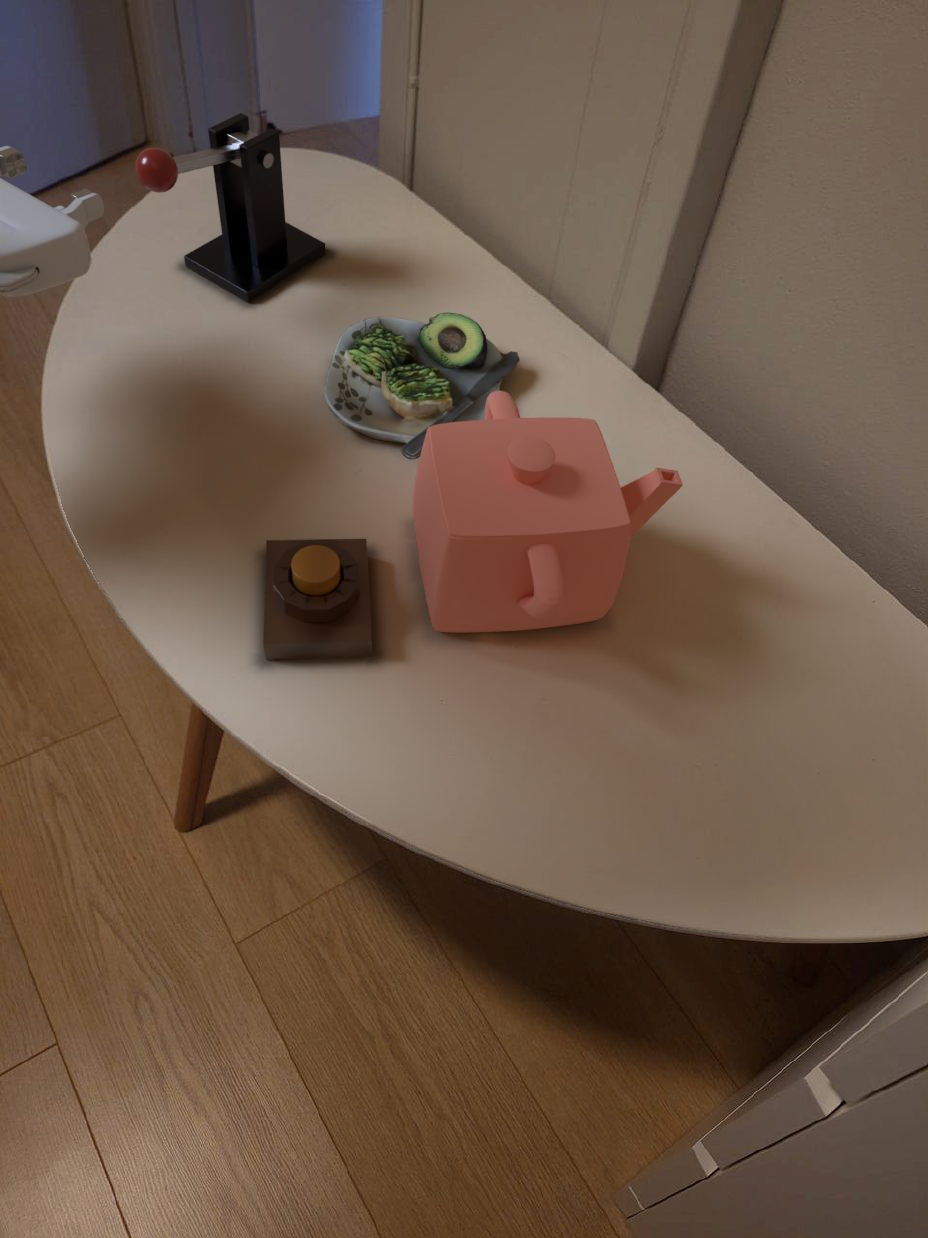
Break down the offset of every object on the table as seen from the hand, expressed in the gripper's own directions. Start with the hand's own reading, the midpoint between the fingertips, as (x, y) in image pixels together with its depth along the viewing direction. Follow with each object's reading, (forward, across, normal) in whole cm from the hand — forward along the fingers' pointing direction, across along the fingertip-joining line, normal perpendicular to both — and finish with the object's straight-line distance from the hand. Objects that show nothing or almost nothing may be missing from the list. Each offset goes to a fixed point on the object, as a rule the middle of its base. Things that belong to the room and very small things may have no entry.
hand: (57, 179), depth 73 cm
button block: (-8, -35, +18) cm, 40 cm away
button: (-9, -35, +15) cm, 39 cm away
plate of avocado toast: (+18, -25, +17) cm, 35 cm away
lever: (+15, 0, +5) cm, 16 cm away
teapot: (+6, -46, +18) cm, 50 cm away
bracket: (+22, 0, +16) cm, 27 cm away
